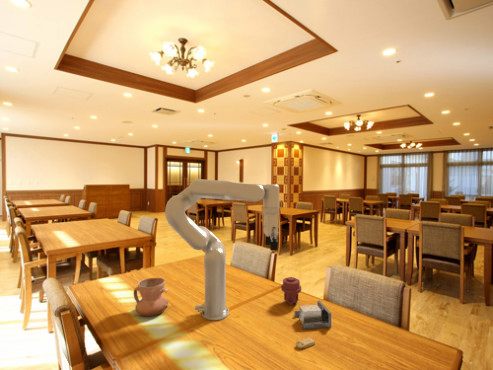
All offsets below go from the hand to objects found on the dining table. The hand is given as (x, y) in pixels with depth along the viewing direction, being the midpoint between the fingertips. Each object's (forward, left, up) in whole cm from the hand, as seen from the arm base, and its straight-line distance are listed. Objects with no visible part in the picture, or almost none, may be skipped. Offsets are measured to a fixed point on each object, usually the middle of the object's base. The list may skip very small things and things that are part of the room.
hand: (271, 247), depth 124 cm
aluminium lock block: (+15, -11, -30) cm, 36 cm away
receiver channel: (+15, -11, -30) cm, 36 cm away
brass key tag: (+7, -26, -30) cm, 41 cm away
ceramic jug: (-56, +9, -31) cm, 64 cm away
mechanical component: (+12, +7, -31) cm, 34 cm away
